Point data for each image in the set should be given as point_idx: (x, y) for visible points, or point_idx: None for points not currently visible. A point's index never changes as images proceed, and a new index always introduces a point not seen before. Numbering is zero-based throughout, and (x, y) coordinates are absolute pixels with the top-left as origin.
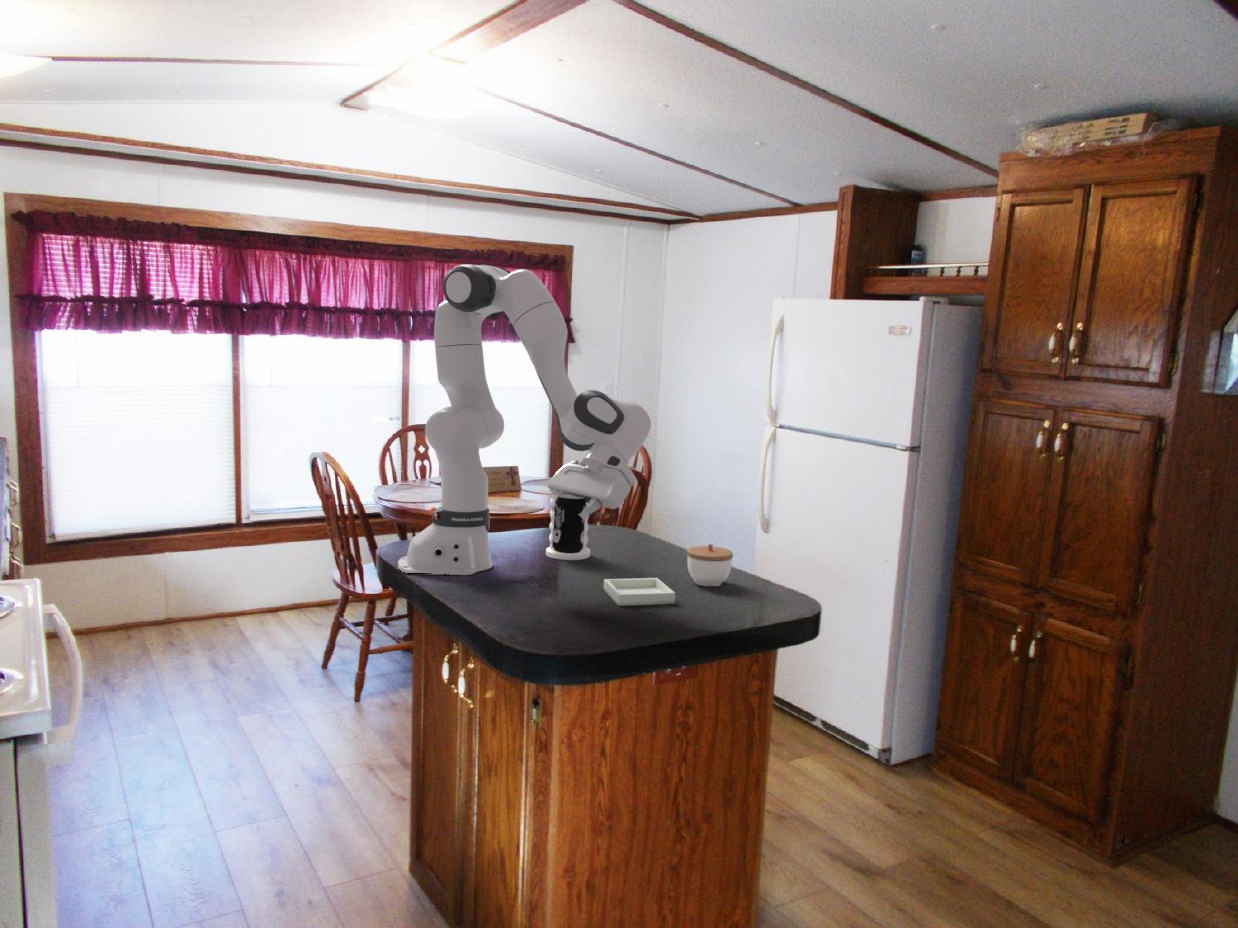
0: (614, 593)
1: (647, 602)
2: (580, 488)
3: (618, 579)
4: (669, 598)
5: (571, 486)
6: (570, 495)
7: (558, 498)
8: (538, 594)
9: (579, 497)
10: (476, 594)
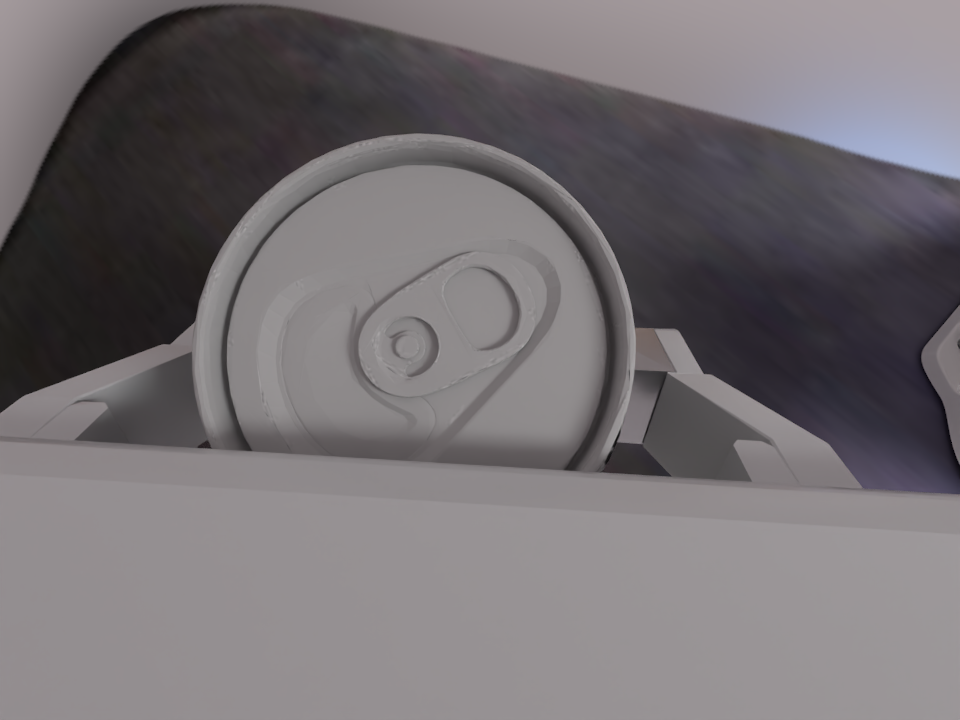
0: None
1: None
2: (313, 539)
3: None
4: None
5: (626, 556)
6: (501, 418)
7: (503, 178)
8: None
9: (198, 311)
10: (699, 224)
